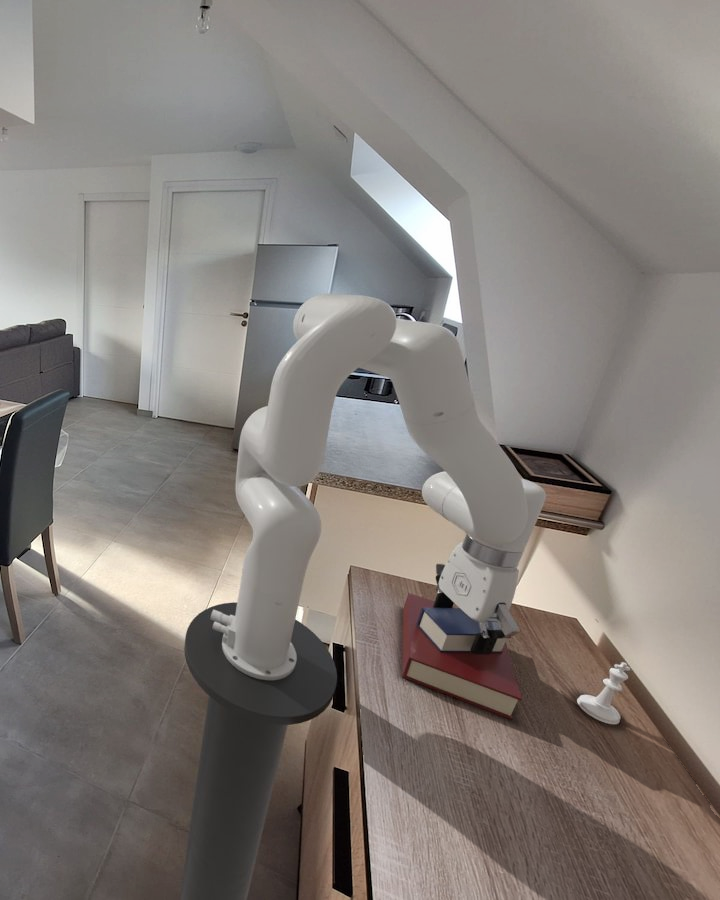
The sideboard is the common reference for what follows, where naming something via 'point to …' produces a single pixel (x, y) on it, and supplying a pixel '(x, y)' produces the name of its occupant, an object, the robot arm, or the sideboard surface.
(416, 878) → the sideboard surface
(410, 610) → the hardback
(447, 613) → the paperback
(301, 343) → the robot arm
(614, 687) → the chess piece
